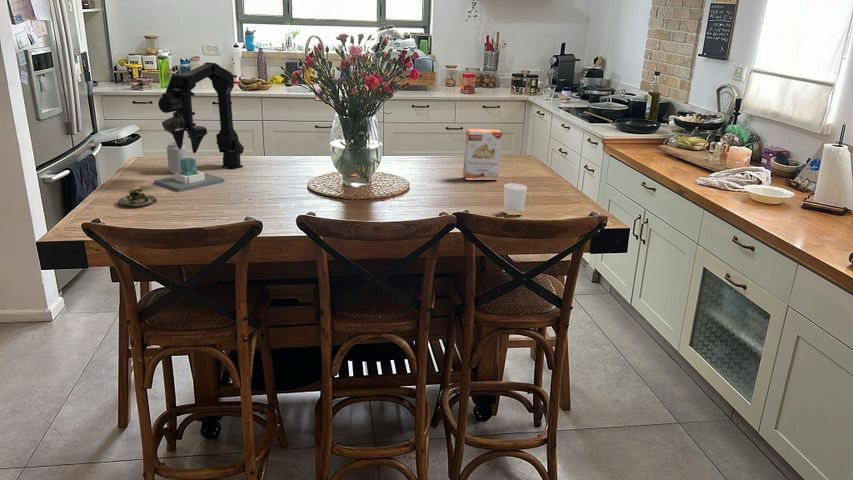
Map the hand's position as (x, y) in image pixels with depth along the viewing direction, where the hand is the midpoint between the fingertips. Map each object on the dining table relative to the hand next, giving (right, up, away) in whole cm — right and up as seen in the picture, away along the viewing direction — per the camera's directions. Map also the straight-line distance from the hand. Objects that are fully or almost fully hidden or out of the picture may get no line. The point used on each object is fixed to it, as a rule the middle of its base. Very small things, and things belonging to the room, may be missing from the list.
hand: (187, 150), depth 250 cm
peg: (-1, -11, +4) cm, 11 cm away
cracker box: (+113, -8, +29) cm, 117 cm away
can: (-10, -7, +18) cm, 21 cm away
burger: (-9, -22, -23) cm, 33 cm away
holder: (-1, -12, +4) cm, 12 cm away
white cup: (+121, -24, -15) cm, 125 cm away
